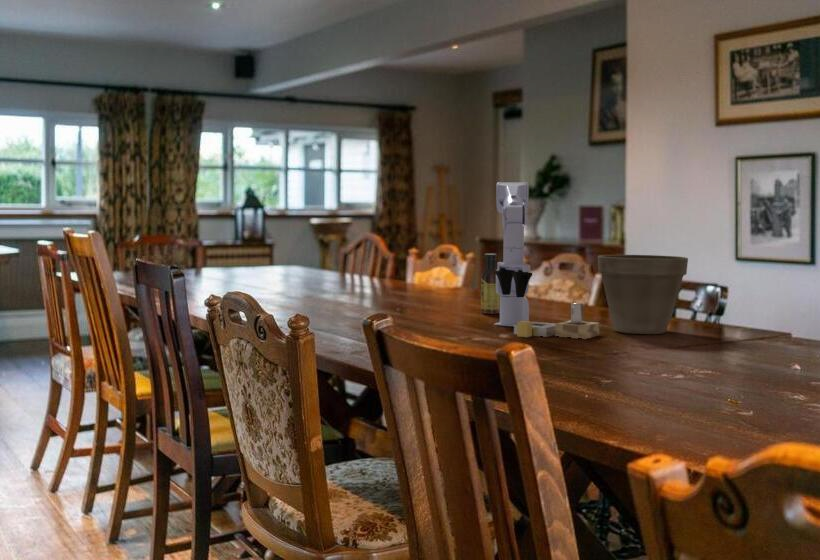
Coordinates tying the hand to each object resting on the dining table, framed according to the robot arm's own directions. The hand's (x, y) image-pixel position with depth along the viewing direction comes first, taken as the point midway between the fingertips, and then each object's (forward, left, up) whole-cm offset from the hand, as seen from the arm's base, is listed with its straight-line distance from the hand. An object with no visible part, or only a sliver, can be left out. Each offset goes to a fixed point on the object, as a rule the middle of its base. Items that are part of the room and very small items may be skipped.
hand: (513, 295), depth 269 cm
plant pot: (-23, +29, -11) cm, 38 cm away
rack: (-4, +18, -10) cm, 21 cm away
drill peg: (-4, +18, -10) cm, 21 cm away
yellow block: (+5, +6, -10) cm, 13 cm away
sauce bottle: (-36, -28, -11) cm, 47 cm away
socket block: (-2, +7, -10) cm, 13 cm away
